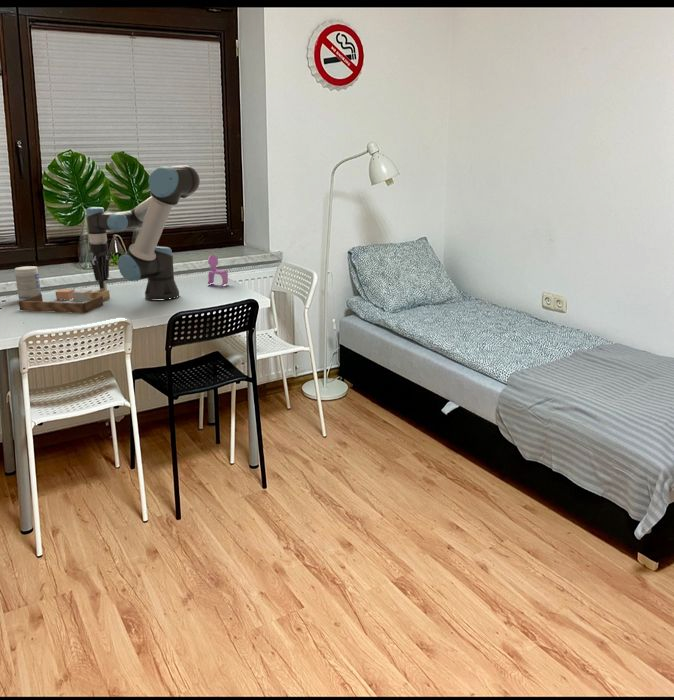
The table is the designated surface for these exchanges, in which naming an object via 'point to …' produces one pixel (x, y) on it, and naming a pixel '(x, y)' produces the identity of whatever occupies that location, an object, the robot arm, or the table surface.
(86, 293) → the grey tile
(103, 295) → the oak tile
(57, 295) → the terracotta tile
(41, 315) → the table surface
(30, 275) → the supplement tub
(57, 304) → the frame
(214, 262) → the toy chair
